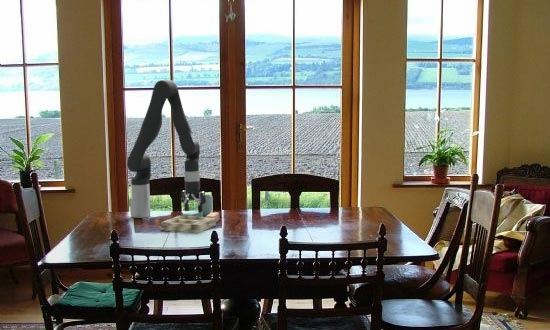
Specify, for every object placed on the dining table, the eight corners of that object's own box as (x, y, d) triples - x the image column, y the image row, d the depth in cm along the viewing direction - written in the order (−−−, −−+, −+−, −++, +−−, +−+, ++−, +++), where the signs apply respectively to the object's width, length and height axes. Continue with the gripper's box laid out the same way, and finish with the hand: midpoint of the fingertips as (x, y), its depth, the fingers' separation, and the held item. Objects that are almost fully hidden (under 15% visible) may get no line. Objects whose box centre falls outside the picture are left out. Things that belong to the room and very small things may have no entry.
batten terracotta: (213, 224, 268) (213, 216, 268) (206, 224, 269) (205, 216, 269) (219, 220, 278) (219, 212, 278) (211, 220, 279) (211, 212, 278)
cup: (214, 213, 295) (213, 195, 294) (211, 216, 287) (210, 197, 286) (200, 213, 296) (199, 194, 295) (196, 216, 288) (196, 197, 287)
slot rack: (161, 229, 257) (161, 222, 256) (180, 222, 273) (179, 215, 272) (198, 232, 250) (198, 225, 249) (215, 225, 266) (215, 217, 265)
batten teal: (189, 223, 272) (188, 215, 272) (183, 222, 275) (183, 214, 274) (203, 219, 280) (202, 211, 280) (197, 218, 283) (197, 211, 282)
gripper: (176, 180, 275) (177, 212, 277) (198, 181, 268) (199, 214, 270) (186, 178, 282) (187, 209, 283) (208, 179, 274) (209, 211, 276)
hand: (193, 211), depth 276 cm, fingers open, 8 cm apart
